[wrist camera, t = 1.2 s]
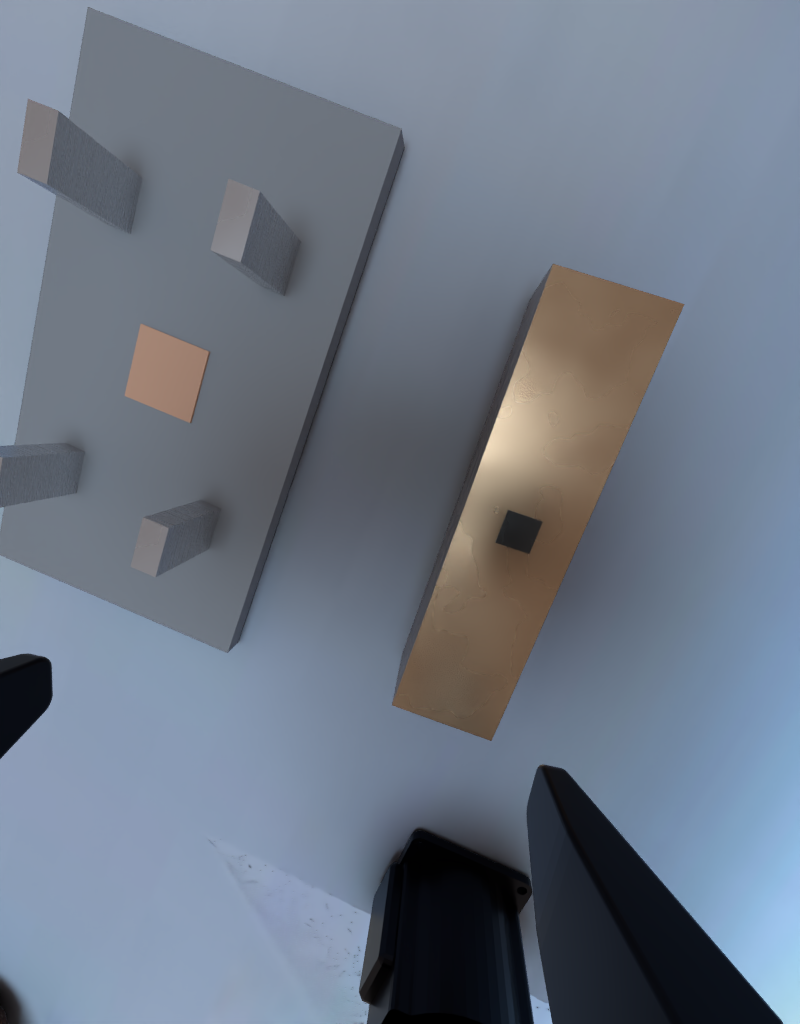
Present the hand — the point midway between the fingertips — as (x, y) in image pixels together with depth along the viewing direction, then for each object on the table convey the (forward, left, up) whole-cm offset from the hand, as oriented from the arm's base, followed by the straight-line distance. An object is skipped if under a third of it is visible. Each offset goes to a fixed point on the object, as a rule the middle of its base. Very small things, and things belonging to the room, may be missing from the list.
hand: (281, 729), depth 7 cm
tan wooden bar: (-4, -3, -12) cm, 13 cm away
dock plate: (+11, -4, -12) cm, 16 cm away
